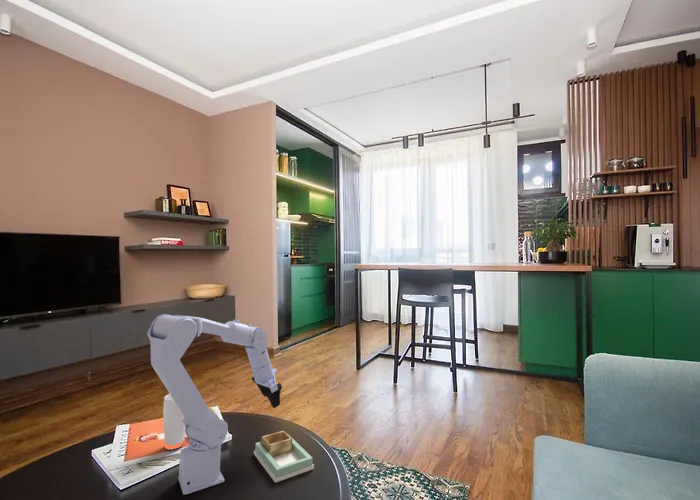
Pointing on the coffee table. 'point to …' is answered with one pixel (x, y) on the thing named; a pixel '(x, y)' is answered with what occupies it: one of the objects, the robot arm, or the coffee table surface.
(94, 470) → the coffee table surface
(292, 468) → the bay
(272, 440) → the crate
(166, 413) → the drinking glass
